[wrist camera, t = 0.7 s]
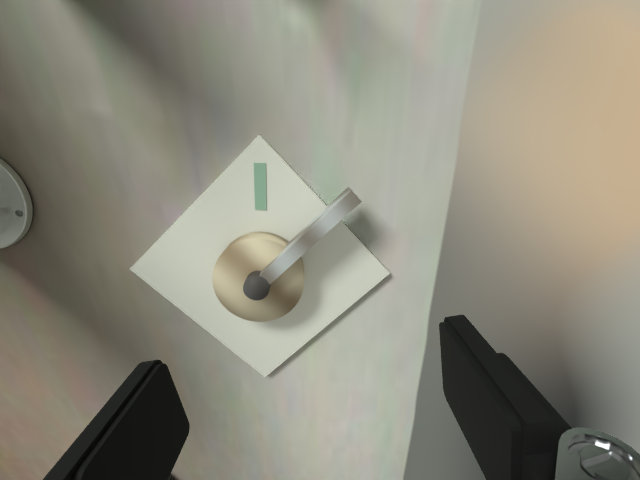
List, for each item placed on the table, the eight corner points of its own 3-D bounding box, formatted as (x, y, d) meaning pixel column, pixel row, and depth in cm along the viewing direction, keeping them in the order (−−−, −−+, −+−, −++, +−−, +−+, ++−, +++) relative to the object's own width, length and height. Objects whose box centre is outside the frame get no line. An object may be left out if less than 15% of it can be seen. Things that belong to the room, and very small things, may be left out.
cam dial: (263, 324, 42) (257, 346, 37) (201, 271, 39) (187, 287, 34) (379, 222, 38) (389, 232, 33) (320, 155, 35) (321, 157, 31)
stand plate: (265, 372, 46) (264, 377, 45) (133, 266, 40) (128, 269, 39) (388, 270, 42) (390, 273, 40) (260, 134, 36) (258, 134, 35)
